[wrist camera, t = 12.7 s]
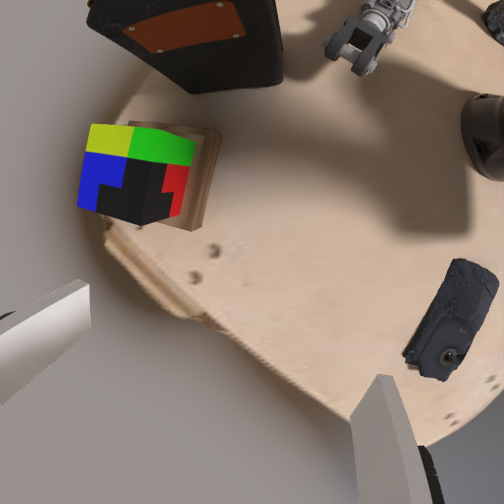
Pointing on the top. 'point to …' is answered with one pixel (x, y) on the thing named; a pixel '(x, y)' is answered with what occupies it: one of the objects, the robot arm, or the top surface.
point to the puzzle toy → (134, 173)
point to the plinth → (192, 172)
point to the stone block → (495, 19)
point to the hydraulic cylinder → (368, 33)
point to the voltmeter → (197, 39)
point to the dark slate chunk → (452, 320)
